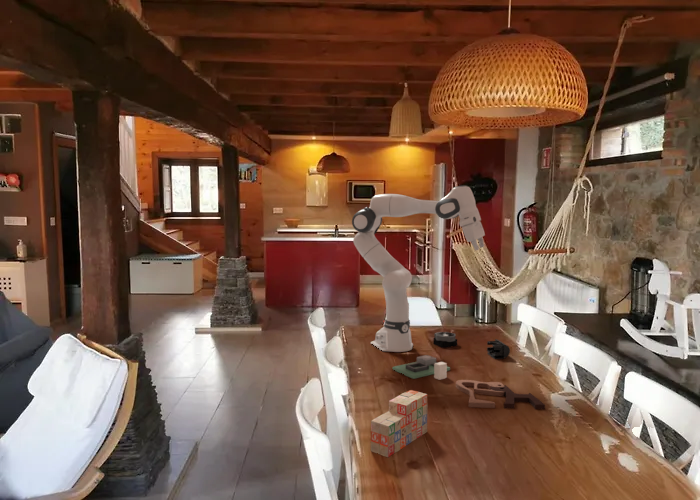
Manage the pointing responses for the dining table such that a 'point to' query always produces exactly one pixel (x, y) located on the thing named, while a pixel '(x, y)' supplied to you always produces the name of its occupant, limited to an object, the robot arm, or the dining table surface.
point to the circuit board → (418, 367)
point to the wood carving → (495, 394)
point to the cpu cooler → (445, 339)
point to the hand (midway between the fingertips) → (479, 248)
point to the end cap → (498, 349)
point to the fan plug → (440, 370)
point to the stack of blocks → (399, 423)
